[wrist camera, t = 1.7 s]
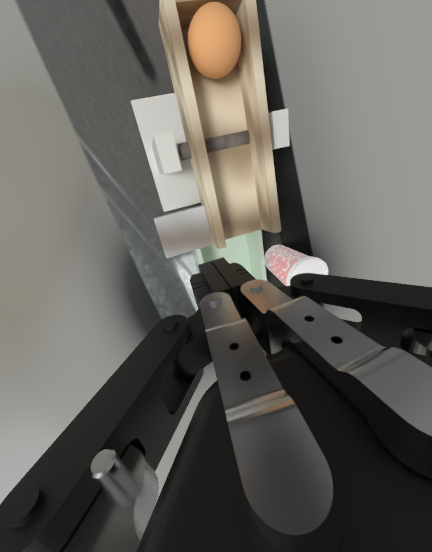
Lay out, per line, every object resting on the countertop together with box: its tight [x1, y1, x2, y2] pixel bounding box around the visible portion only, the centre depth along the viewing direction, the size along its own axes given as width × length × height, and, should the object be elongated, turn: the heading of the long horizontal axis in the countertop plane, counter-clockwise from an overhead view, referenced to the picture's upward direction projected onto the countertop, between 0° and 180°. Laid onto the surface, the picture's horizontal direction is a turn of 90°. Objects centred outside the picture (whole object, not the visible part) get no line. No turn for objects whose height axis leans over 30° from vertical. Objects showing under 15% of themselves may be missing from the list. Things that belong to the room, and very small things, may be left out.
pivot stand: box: [131, 93, 290, 212], centre depth 25 cm, size 12×14×10 cm
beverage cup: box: [264, 245, 328, 286], centre depth 33 cm, size 6×6×14 cm
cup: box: [193, 230, 267, 281], centre depth 34 cm, size 11×9×5 cm
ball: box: [188, 2, 241, 79], centre depth 17 cm, size 4×4×4 cm
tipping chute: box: [154, 0, 281, 258], centre depth 20 cm, size 18×12×5 cm
